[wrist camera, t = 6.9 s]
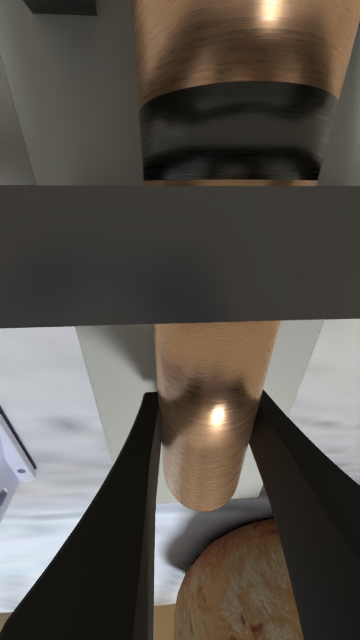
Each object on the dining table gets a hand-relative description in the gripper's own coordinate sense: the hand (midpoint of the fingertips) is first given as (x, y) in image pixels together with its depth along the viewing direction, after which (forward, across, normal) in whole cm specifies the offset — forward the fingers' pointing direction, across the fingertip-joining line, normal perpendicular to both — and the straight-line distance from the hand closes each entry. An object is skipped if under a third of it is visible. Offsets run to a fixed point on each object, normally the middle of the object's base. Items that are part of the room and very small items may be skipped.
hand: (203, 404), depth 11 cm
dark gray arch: (+1, 0, -8) cm, 8 cm away
